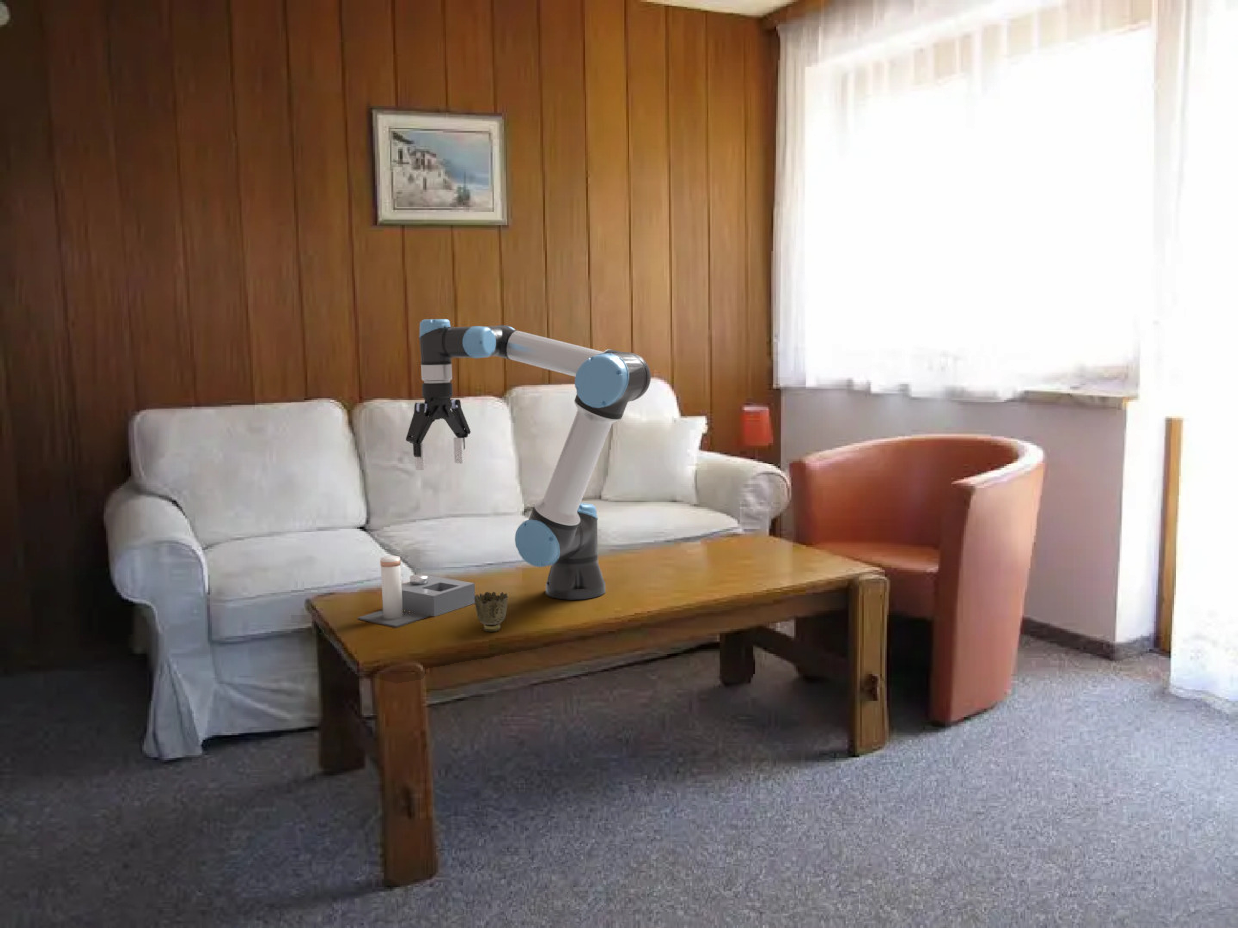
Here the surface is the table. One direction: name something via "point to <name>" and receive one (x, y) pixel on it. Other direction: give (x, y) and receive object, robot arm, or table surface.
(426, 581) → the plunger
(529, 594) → the table surface
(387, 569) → the cylinder
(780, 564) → the table surface
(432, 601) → the housing
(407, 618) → the mat
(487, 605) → the cup
